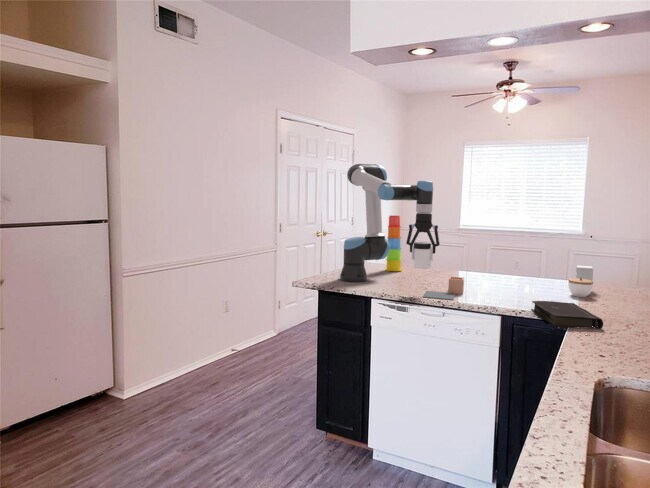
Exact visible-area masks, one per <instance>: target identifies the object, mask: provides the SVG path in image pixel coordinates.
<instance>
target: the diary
mask: <svg viewBox="0 0 650 488" xmlns="http://www.w3.org/2000/svg"><path fill="white" fill-rule="evenodd" d="M531 302H532V303H533V304H534V308H530V310H531V311H532V312H533V313H534V314H535V315H536V316H537V317H539V318H541V319H542V320H543V321H546V322H547V323H548V324H549V325H550V326H551V327H552V328H563V329H564V328H566V329H567V328H569V329H572V328H573V329H576V328H575V327H592V326H593V327H596V328H597V326H598V327H599V328H602V329H603V327H604V321H603V319H602V318H601V317H598V316H596V315H595V314H592V312H590V311H589V310H587V309H584V308H582V307H580V306H579V305H577V304H576V303H574V302H562V301H561V302H560V301H553V300H551V301H549V300H532V301H531ZM599 328H598V329H599Z"/></svg>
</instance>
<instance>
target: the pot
mask: <svg viewBox="0 0 650 488" xmlns="http://www.w3.org/2000/svg"><path fill="white" fill-rule="evenodd" d="M464 285H465V277H464V276H463V277H461V276H449V277H448V291H447V293H455V295H456V294H458V295H463V294H464V289H465V286H464Z"/></svg>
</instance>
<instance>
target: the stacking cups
mask: <svg viewBox="0 0 650 488" xmlns="http://www.w3.org/2000/svg"><path fill="white" fill-rule="evenodd" d="M401 228H402V227H401V216H400V215H389V216H388V226H387V237H386V239H387V240H388V243H389V244H390V250H389V253H388V255H387V257H386V258H385V260H386V268H385V271H387V272H402V259H403V258H402V257H401V253H402V252H401V251H402V247H401V239H402V238H401Z"/></svg>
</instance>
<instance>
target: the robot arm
mask: <svg viewBox="0 0 650 488" xmlns="http://www.w3.org/2000/svg"><path fill="white" fill-rule="evenodd" d="M387 179H388V175H387V171H386V169H385V167H384V166H383V165H380V164H373V163H371V164H370V163H369V164H368V163H356V164H354V165H352V166H350V168H348V170H347V181H349V182H350V183H351V184H352V185H353V186H357V187H362V190H363V191H364V193H365V194H364V195H365V213H366V214H365V216H366V218H365V219H366V234H365V235H364V237H363V236H358V237H356V236H355V237H348V238H347V239H345V240H344V243H343V266H342V269H341V272H340V275H339V280H341V281H343V282H347V283H348V282H350V283H362V282H367V280H368V275H367V271H366V268H365V261H379V260H383V259H386V258H387V255H388V253H389V250H390V244H389V243H388V238H386V235H385V234H384V233H383V224H382V223H383V221H382V200H383V201H416V208H415V212H416V215H415V223H413V224H412V223H411V224H409V225H408V228H409V229H408V234H407V237H406V243H405V244H406V245H408V246H409V253H411V260H413V258H414V243H415V242H416V239H417V238H418V235H419V234H420V233H426V234H427V236H428V239H429V241H430V243H431V262H432V261H433V259H434V254H436V248H437V247H439V246H440V238H439V231H438V229H439V225H437V224H436V225H435V224H433V220H432V219H433V214H432V213H433V195H434V193H433V192H434V182H433V181H431V180H418V181H417V183H416V184H392V183H390V182H388V181H387ZM414 228H415V229H416V230H415V233H414V235H413V237H412V234H413V230H414ZM431 229H433V230H434V237H435V238H434V237H433V235H432V232H431ZM411 238H412V240H411ZM434 239H435V240H434Z"/></svg>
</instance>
